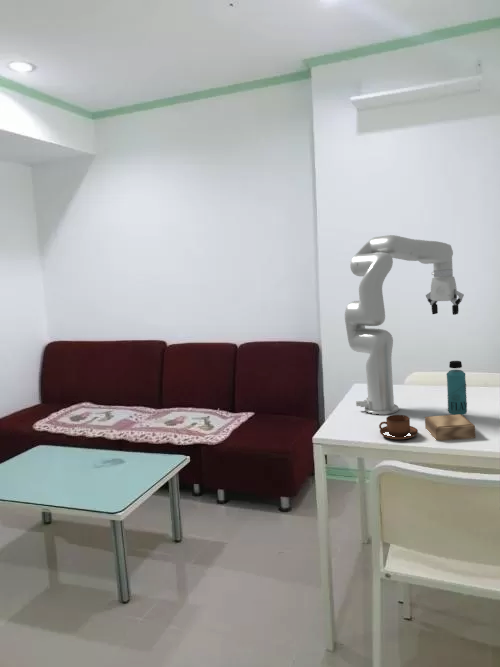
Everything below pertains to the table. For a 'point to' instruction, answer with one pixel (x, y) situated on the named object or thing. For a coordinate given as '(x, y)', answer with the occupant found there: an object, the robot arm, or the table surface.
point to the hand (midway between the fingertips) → (445, 314)
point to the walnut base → (450, 427)
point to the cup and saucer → (398, 427)
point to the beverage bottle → (456, 389)
